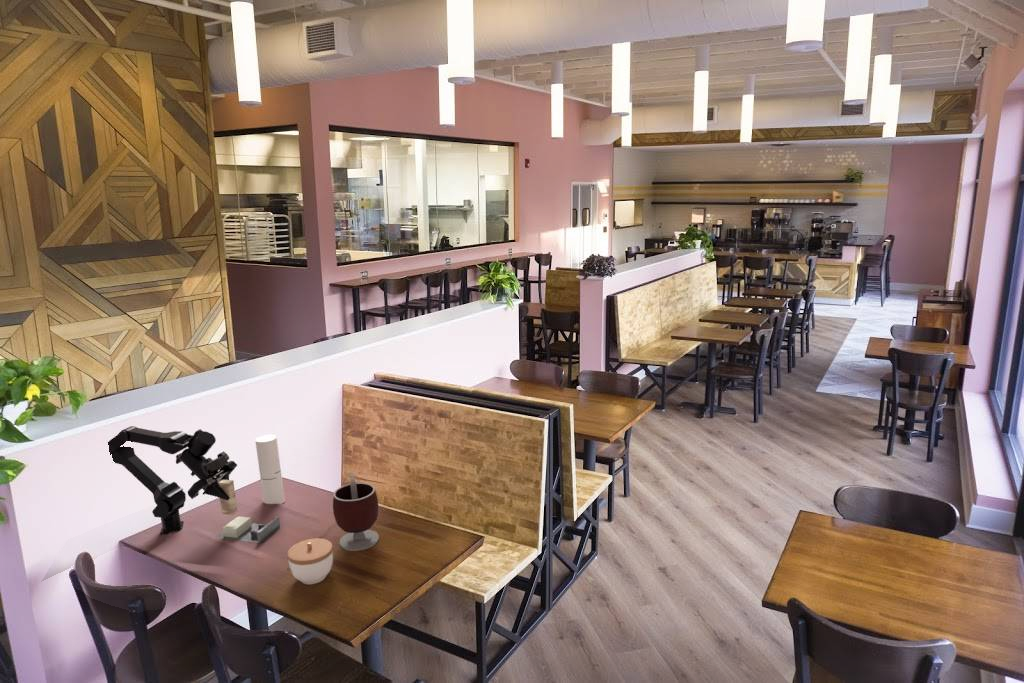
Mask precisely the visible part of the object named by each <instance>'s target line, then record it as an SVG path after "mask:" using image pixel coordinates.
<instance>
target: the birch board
mask: <svg viewBox="0 0 1024 683" xmlns="http://www.w3.org/2000/svg"><path fill="white" fill-rule="evenodd" d="M218 484H219V486H220V487H221V488H222V489H223V491H224V492H225V493H226V494H227V495H228V496H229V500H225V499H222V498H219V499H220V500H219V501H220V507H221V513H222V515H230V516H234V515H235V514H236V513H238V511H239V510H238V503H237V498H236V490H235V489H236V488H235V484H234V480H232V479H229V480H221V481H220V482H218Z"/></svg>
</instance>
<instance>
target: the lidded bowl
mask: <svg viewBox="0 0 1024 683" xmlns="http://www.w3.org/2000/svg"><path fill="white" fill-rule="evenodd" d="M333 549H334V547H333V543H332V542H331V541H330V540H328V539H326V538H316V537H315V538H309V539H305V540H301V541H299V542H297V543H295V544H294V545H293V544H292V545H291V547H289V548H288V551H287V553H286V554H287V555H286V556H287V559H288V566H289V569H290V572H291V573H292V575H293V577H294V578H295V579H297V580H298V581H299V582H300V583H302V584H304V585H315V584H318V583H320V582H323V581H324V580H325V578H326V577H327V576H328V574H329V573H330V571H331V570H332V567H333V562H334V551H333Z"/></svg>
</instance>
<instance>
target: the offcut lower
mask: <svg viewBox="0 0 1024 683" xmlns="http://www.w3.org/2000/svg"><path fill="white" fill-rule="evenodd" d="M251 526H252V521H251V522H250V523H249V524H248V525H247V526H245V527H244V528H243V529H242V530H240V531H239V532H238V533H236V534H235V533H225V532H223V531H222V532H223V536H224V537H234V538H237V537H239V536H240V535H241V534H242V533H244V532H245V531H246V530H247V529H249V528H250V527H251Z"/></svg>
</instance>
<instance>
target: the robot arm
mask: <svg viewBox="0 0 1024 683" xmlns="http://www.w3.org/2000/svg"><path fill="white" fill-rule="evenodd" d="M108 441H109V442H108ZM108 441H107V442H108V445H109V452H110V455H111V454H112V458H113V461H114V462H115V463H114V464H117V465H121V466H122V467H124V468H125V469H126V470H127V471H128V472H129V474H131V475H132V476H133V477H135V478H136V479H137V480H138V481H139V483H141V484H142V485H143V486H144V487H145V488H147V489H148V490H149V491H150V492H151V493H152V495H153V501H154V503H155V504H156V506H155V507H154V508H153V509H152V511H151V512H152V514H153V516H154V518H160V521H161V529H160V532H159V533H160V535H165V534H169V533H175V532H180V531H182V530H183V526H184V524H185V523H184V520H181V516H180V509H182V508H183V507H184V506H185V503H186V499H187V498H186V496H187V495H188V497H189V498H190V499H191V500H193V499H195V498H196V497H198V496H199V495H200V491H201V490H203V492H202V495H203V496H205V495H208V496H212V497H215V498H219V499H220V498H222V499H225V500H229V496H228V495H227V494H226V493H225V492H224V491H223V489H222V488H221V487H220V486H219V484H218V482H220V481H221V480H230V475H232V474H231V473H233V471H234V470H235V469H236V467H238V463H236V461H234V460H230V456H229V455H228V453H226V452H225V451H222V452H220V453H218V454H217V456H216V458H214V459H212V457H208V458H207V457H205V455H206V454H208V453H209V451H210V449H211V448H212V447H213V445H214V444H216V436H215V435H214V434H213V433H210V432H209V431H205V430H204V431H203V430H202V429H201V428H200V429H197V430H196V431H195V432H194V433H193V435H192V434H188V433H187V432H185V431H179V430H178V431H176V430H175V431H169V432H162V431H156V430H152V429H146V428H142V427H137V426H134V425H132V426H131V425H130V426H128V427H126V428H124V429H122V430H121V431H119V432H118V434H117V435H115V436H114V437H113V438H111V439H110V440H108ZM126 441H131V442H133V443H137V444H140V445H141V444H142V445H147V446H152V447H157V448H159V450H161V451H162V452H163V453H166V454H169V455H175V454H177V453H179V452H181V451H182V452H181V453H179V454H177V455H175V464H176V465H178V464H181V463H183V464H184V465H185V467H186V468H188V469H189V470H190V471H191V473H190V475H191V477H194V476H196V477H197V478H198V479H199V480H197V481H196V482H193V484H192V486H190V488H189V489H188V491H187V495H186V492H185V491H184V488H182V487H181V486H179V485H178V483H177V482H175V481H173V482H170V483H168V482H165V481H164V480H163V479H162V478H161V477H160V476H159V475H158V474H157V473H156V472H155V471H154V470H153V469H152V468H150V466H148V465H147V464H146V462H144V461H143V460H142V459H141V458H139V456H138V455H136V452H135V448H131V447H124V446H123V447H120V446H121V445H123V444H124V443H125V442H126Z"/></svg>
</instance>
